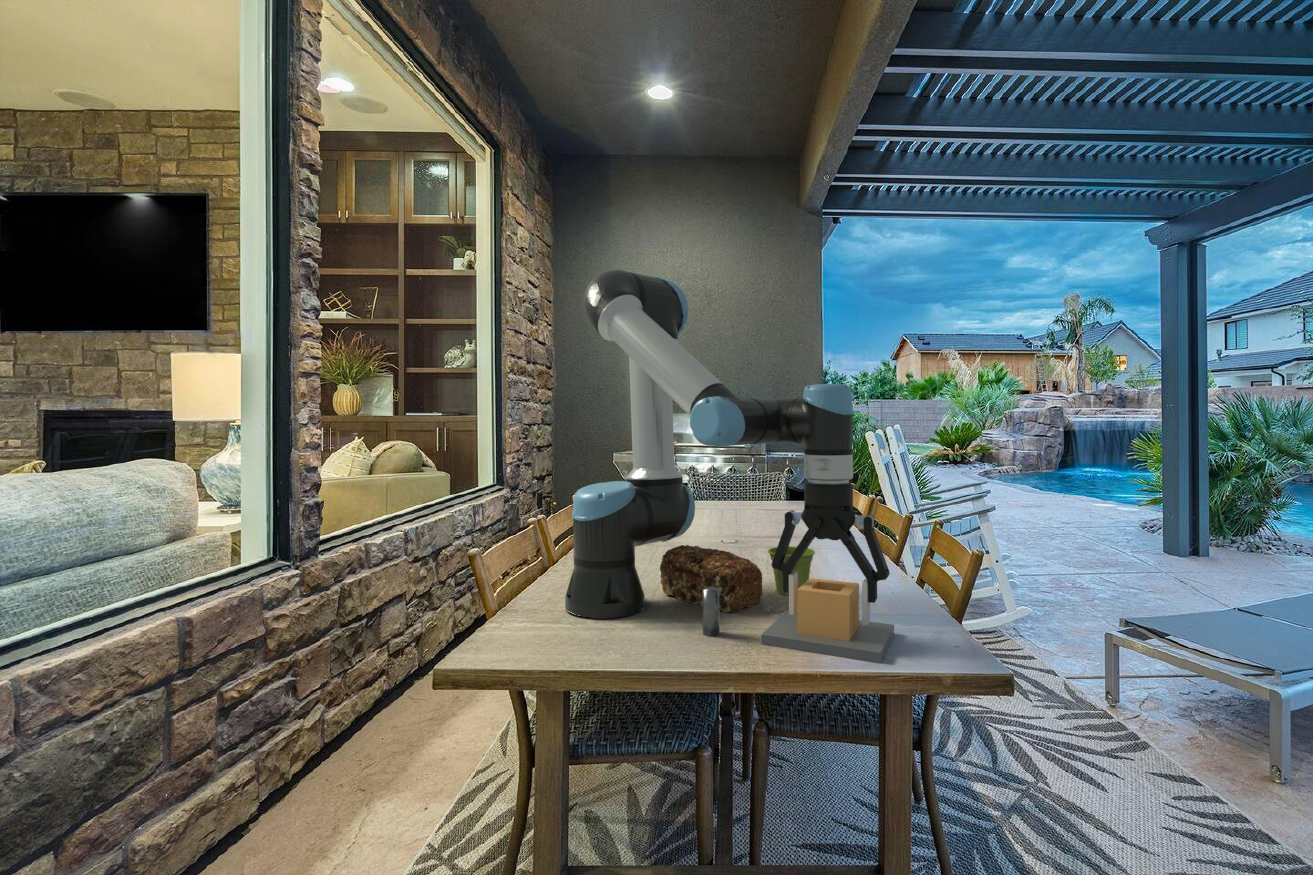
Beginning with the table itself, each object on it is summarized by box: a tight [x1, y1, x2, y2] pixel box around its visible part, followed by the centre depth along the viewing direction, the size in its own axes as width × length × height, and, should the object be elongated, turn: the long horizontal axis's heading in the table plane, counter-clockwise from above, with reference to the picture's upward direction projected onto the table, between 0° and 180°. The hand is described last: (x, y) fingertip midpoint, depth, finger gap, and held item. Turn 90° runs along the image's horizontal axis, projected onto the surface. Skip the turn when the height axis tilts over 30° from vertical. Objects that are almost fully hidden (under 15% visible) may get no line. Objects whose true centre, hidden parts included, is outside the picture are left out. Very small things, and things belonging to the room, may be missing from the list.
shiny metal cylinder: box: [701, 587, 721, 637], centre depth 106 cm, size 3×3×8 cm
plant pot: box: [767, 545, 816, 596], centre depth 130 cm, size 9×9×9 cm
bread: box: [659, 544, 763, 613], centre depth 126 cm, size 19×11×10 cm, turn 42°
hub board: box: [760, 610, 895, 664], centre depth 102 cm, size 18×14×8 cm
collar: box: [797, 577, 860, 641], centre depth 102 cm, size 8×8×7 cm
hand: (828, 617), depth 102 cm, fingers open, 11 cm apart
